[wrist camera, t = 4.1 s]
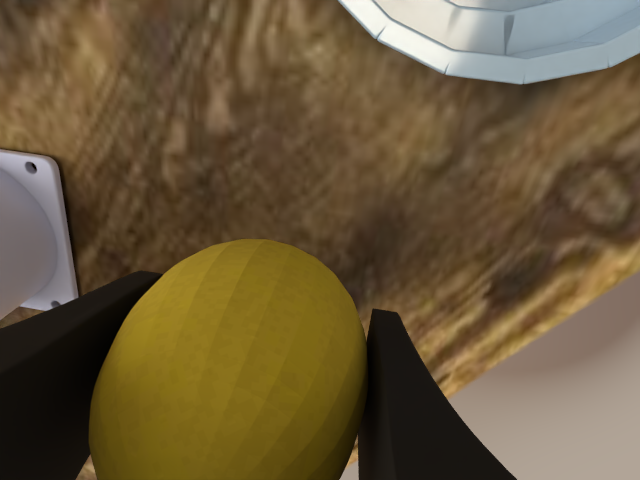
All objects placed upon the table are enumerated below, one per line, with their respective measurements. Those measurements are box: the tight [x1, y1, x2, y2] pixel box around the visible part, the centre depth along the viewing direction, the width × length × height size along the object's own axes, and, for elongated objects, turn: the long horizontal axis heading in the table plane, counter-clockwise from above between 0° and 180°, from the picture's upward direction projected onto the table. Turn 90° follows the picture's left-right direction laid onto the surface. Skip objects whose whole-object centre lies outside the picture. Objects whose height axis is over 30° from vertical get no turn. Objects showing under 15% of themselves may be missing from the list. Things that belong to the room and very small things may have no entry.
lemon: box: [89, 239, 368, 480], centre depth 10 cm, size 6×6×8 cm
